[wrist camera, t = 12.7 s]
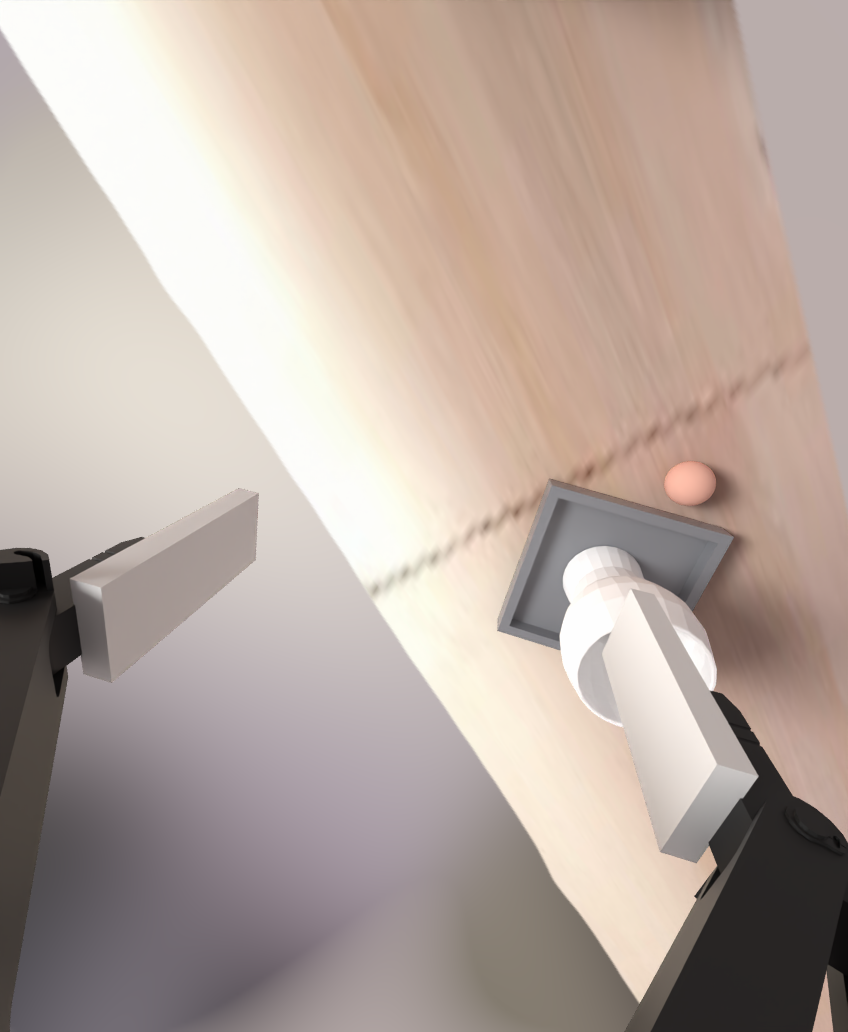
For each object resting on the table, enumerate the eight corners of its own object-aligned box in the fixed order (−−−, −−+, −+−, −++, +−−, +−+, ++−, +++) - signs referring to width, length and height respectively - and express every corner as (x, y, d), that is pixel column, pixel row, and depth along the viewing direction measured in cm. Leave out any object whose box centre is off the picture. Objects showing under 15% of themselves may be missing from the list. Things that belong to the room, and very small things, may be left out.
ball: (669, 451, 41) (685, 461, 37) (712, 463, 41) (733, 474, 37) (651, 491, 43) (665, 504, 39) (692, 503, 42) (710, 517, 39)
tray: (549, 478, 44) (551, 485, 42) (722, 527, 43) (734, 537, 40) (497, 618, 50) (497, 630, 48) (647, 664, 49) (653, 679, 47)
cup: (680, 583, 44) (761, 688, 30) (594, 641, 48) (630, 758, 34) (609, 511, 43) (658, 584, 29) (526, 576, 47) (535, 669, 33)
